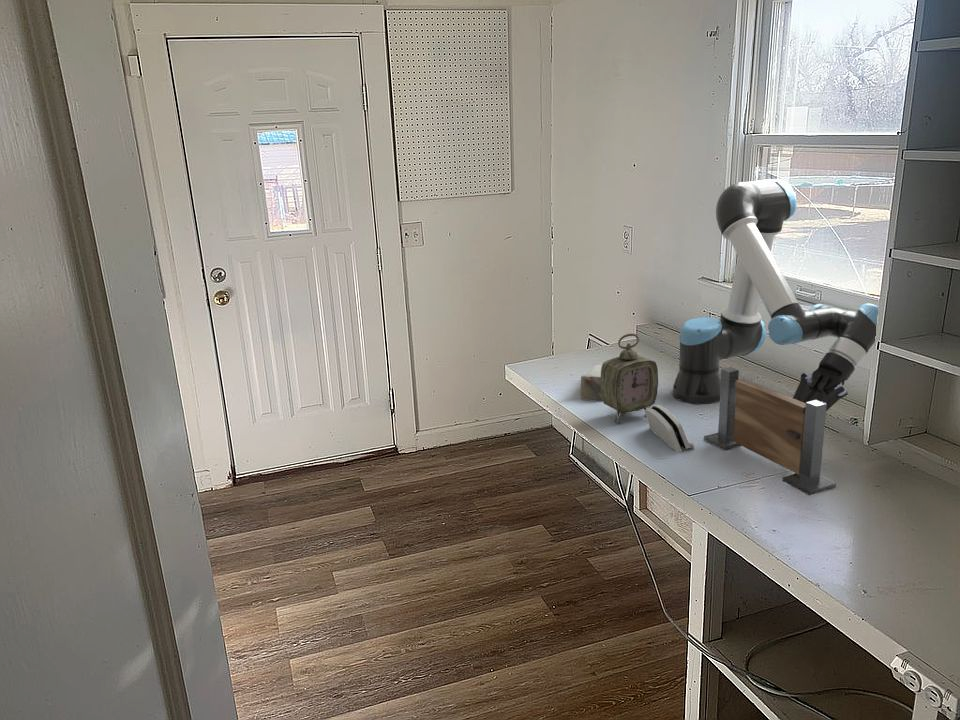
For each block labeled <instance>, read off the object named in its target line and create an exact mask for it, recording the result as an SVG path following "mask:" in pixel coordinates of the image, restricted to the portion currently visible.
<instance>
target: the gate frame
mask: <svg viewBox="0 0 960 720" xmlns="http://www.w3.org/2000/svg"><path fill="white" fill-rule="evenodd" d="M739 373H740V370H739V369H737V368H734V367H732V366H729V367H724V368H721V370H720V377H721V386H720V401H719V408H718V410H719V411H718V430H717V431H718V432H714V433H711V434H710V433H709V434H708V435H707V434H706V435H703V440H704V441H706V442H708V443H710V444H711V445H713V446H716V447H717V448H719V449H721V450H723V451H728V450H731V449H735V448H740V447H742V446H741V445H739V444H737V443H735V442H734V424H735V406H736V388H737V387H735V384H736V380H739V377H740V376H739V375H740V374H739ZM826 407H827V404H826V403H823V402H821V401H818V400H813V401H809V402H806V408H805V419H804V431H803V442H802V454H801V465H800V474H799V475H798V474H796V473H793V474H789V475H786V476H782V482H784V483H786V484H787V485H789V486H790V487H793V488H795V489H797V490H799V491H800V492H802V493H805V494H806V495H808V496H812V495H816V494H819V493H822V492H825V491H828V490H832V489H835V488H836V487H837V482H835V481H833V480H831V479H829V478H826V477H825V476H823V475H821V468H822V459H823V458H822V457H823V456H822V455H823V448H824V437H825V428H826V427H825V426H826V418H827V411H826Z"/></svg>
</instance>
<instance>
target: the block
mask: <svg viewBox="0 0 960 720" xmlns="http://www.w3.org/2000/svg"><path fill="white" fill-rule="evenodd" d="M601 367H602V364H595V365H594V366H593V367H592V368H590V370H589V371H588V372H586V374H582V375H581V376H580V400H583V401H593V402H596V401H597V402H599V401H600V402H603V399H602V395H601V383H600V380H601Z"/></svg>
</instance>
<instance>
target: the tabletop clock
mask: <svg viewBox="0 0 960 720" xmlns="http://www.w3.org/2000/svg"><path fill="white" fill-rule="evenodd" d="M627 337H636V339H637V340H636V342H635V343H634V344H631V343H627V344H626V346H623V345H621V341H622V340H623V339H625V338H627ZM639 342H640V337H639V335H637V334H635V333H627V334H625V335H624V334H623V335H622V336H621V337H620V338H619V340H618V343H617V344H618V347H619V348H620V349H623V350H622V351H621V352H620V353H619V356H617V357H612V358H609V359H608V360H606V361H604V362H603V363H602V364H601V365H602V367H601V380H600V383H601V395H602V399H603V401H602V402H603V404H604V405H606V406H608V407H609V408H611V409H614V410H615V411H616V418H615V419H614V423H615V424H617V425H618V424H620V423H621V419H620V415H621V416H625V415H626V413H631V412H638V411H641V410H644V411H645V410H646V409H648V408H650V407H652V406H654V405H655V402H656V400H657V397H658V387H659V371H658V366H657V362H656V361H654V360H653V359H652V360H651V359H649V358H646V357H644V356H642V355H639V354H638V353H637V351H635V349H632V348H634V347H636V346H637V345H638V344H639Z"/></svg>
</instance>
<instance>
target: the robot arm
mask: <svg viewBox="0 0 960 720" xmlns="http://www.w3.org/2000/svg"><path fill="white" fill-rule="evenodd" d="M796 208H797V194H796V193H795V191H794V190H793V187H792V185H791V184H789V182H787V181H786V180H784V179H781V178H775V179H774V178H773V179H772V178H766V179H761V180H750V181H739V182H735V183H733V184H731V185H729V186H728V187H726V188H725V189H723V191H722V192H721V194H720V196H719V198H718V199H717V203H716V207H715V217H716V218H715V219H716V222H717V226H718V229H719V231H720V233H721V235H722V237H723V238H724V239H725V240H729V241H730V243H731V245H732V246H733V249H734V251H735V253H736V254H737V260H736V265H735V270H734V275H733V278H732V279H733V280H732V286H731V289H730V294H729V300H728V303H727V306H725V307H724V308H723V309H722V310H721V313H720V317H719V318H716V317H709V316H706V317H696V318H691V319H689V320H687V321H685V322H684V323H682V325H681V327H680V334H679V363H678V365H679V367H678V373H677V375H676V377H675V380H674V383H673V386H672V396H673V398H675V399H676V400H679V401H681V402H684V403H689V404H698V405H699V404H701V405H703V404H705V405H706V404H714V403H717V402H720V386H721V373H720V361H721V360H725V359H730V358H735V357H740V356H741V357H743V356H748V355H749V354H753V353H756V352H758V351H759V350H761V348H762V347H763V345H764V344H765V341H766V337H767V330H768V335H769V338H770V340H771V341H772V342H774V343H775V344H777V345H780V346H785V345H795V344H796V345H797V344H799V343H802V342H806V341H813V340H818V339H823V338H828V337H833V338H837V339H836V340H835V341H834V342H833V344H832V345H831V346H830V348H829V349H828V352H826V353H825V355H824V356H823V357H822V359H821V360H820V362H819V363H818V366H817V367H818V368H816V370H814V371H813V372H812V373H810V374H806V373H804V372H803V373H801V375H800V381H799V384H798V386H797V388H796V390H795V392H794V395H793V397H792V398H793V399H796V400H798V401H801V402H803V403H806V402H809V401H813V400H818V401H821V402H823V403H826V404H827V407H826V412H828V410H829V409H830V408H832V407H833V406H834V405H835V404H836V403H837V402H838V401H840V400H841V399H842V398H844V397H846V396H848V395H849V393H848V391H847V390H846V388H845V387H844V385H845V381H848V380H849V378H850V377H851V376H852V374H853V372H855V368H857V367H858V366H859V365H860V364H861V362H862V360H863V359H864V358H865V357H866V355H867V353H868V352H869V351H870V349H871V347H872V346H873V345H874V344H875V343H876V342H875V336H876V325H877V315H878V307H879V306H878V305H876V304H873V303H869V302H868V303H863V304H862V305H861V306H860V307H859V308H858V309H857V310H850V309H847V308H843V307H837V306H834V305H831V304H822V303H817V304H814V305H812V307H811V308H809V309H808V310H803V308H802V307H801V305H800V303H799V301H798V299H797V298H796V296H795V294H794V292H793V290H792V289H791V287H790V285H789V283H788V281H787V279H786V278H785V275H784V274H783V272H782V270H781V269H780V267H779V265H778V263H777V261H776V259H775V258H774V256H773V254H772V252H771V251H772V249H773V244H774V240H775V236H776V235H778V234H779V233H781V231H782V229H783V225H784V222H785V221H787V220H789V219H790V218H791V217H793V215H794V213H796ZM761 301H762V303H763V304H764V306H765V309H766V311H767V313H768V314H769V317H770V318H771V319H770V321H769V322H768V325H767V329H766V328H765V327H766V326H765V322H764V321H763V320H762V315H761V314H760V312H759V311H758V310H759V306H760V302H761Z"/></svg>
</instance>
